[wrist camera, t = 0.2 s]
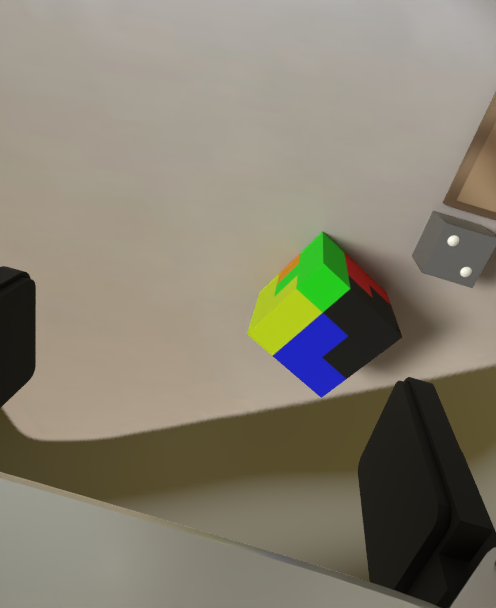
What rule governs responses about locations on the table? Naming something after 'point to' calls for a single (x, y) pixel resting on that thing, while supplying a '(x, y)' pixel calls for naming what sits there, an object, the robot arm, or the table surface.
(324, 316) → the puzzle toy
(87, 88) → the table surface
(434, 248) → the die
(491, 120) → the board
